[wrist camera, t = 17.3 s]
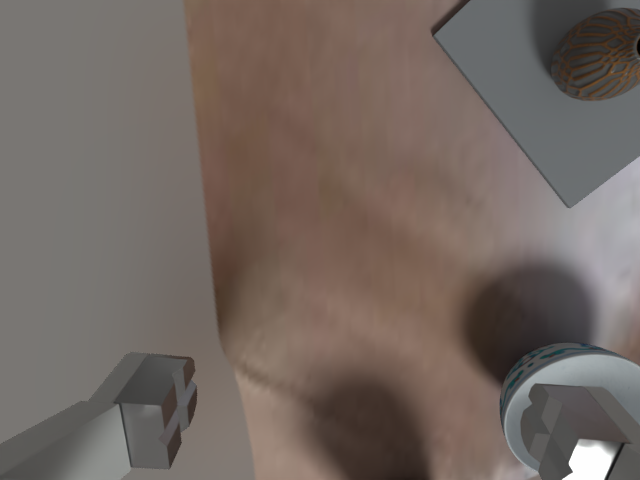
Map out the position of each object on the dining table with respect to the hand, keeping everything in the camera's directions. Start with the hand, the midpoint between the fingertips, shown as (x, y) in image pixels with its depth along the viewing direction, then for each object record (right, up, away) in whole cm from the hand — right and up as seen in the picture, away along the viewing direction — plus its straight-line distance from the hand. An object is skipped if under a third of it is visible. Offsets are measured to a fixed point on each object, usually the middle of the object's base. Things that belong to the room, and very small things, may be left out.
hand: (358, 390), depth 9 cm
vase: (+23, +20, +26) cm, 40 cm away
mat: (+23, +20, +27) cm, 40 cm away
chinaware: (+25, -12, +36) cm, 46 cm away
